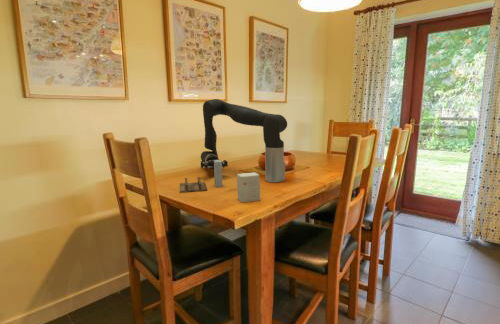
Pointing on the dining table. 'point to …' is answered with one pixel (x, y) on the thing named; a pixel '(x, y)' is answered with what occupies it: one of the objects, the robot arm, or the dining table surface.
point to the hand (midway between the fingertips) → (215, 166)
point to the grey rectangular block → (218, 173)
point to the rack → (192, 186)
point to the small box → (248, 187)
